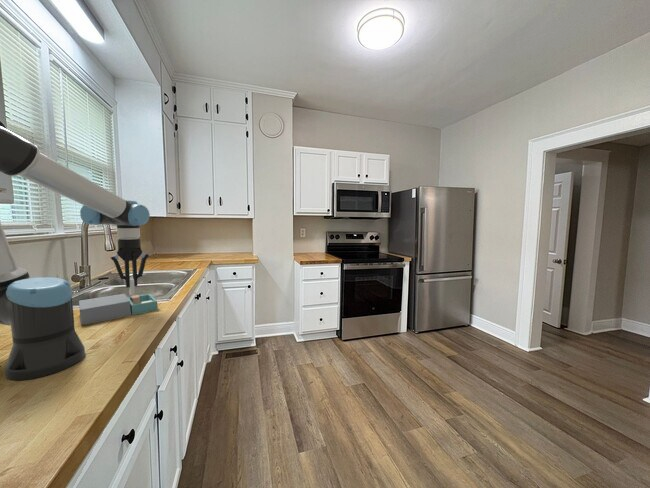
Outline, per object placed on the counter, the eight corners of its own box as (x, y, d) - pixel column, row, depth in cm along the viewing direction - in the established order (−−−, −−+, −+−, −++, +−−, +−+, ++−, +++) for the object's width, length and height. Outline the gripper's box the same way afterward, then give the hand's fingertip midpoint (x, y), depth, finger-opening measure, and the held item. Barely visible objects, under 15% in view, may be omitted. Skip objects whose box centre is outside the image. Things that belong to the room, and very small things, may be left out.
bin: (132, 315, 109) (131, 305, 109) (126, 306, 119) (126, 297, 119) (157, 309, 115) (157, 301, 115) (150, 302, 125) (149, 293, 125)
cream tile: (153, 302, 115) (154, 307, 116) (151, 300, 118) (151, 305, 118) (142, 304, 113) (143, 309, 113) (140, 301, 115) (141, 307, 116)
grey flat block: (81, 325, 98) (80, 309, 98) (80, 314, 108) (78, 300, 108) (130, 315, 109) (129, 301, 108) (125, 306, 119) (124, 293, 118)
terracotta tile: (132, 298, 116) (139, 296, 118) (131, 296, 119) (138, 294, 120) (133, 306, 116) (140, 305, 118) (131, 304, 119) (138, 303, 121)
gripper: (146, 237, 116) (148, 289, 118) (107, 238, 107) (111, 295, 109) (149, 238, 111) (152, 293, 113) (109, 239, 102) (113, 299, 104)
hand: (132, 294), depth 111 cm, fingers closed
